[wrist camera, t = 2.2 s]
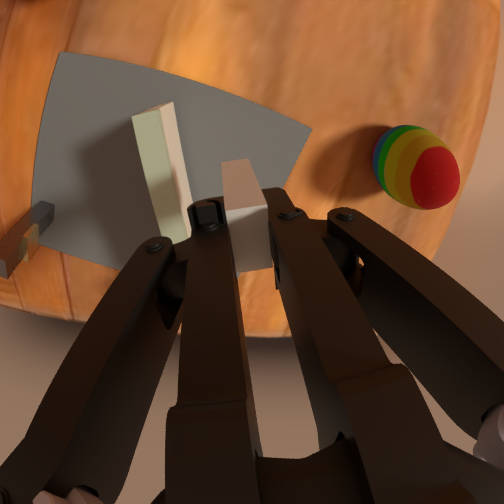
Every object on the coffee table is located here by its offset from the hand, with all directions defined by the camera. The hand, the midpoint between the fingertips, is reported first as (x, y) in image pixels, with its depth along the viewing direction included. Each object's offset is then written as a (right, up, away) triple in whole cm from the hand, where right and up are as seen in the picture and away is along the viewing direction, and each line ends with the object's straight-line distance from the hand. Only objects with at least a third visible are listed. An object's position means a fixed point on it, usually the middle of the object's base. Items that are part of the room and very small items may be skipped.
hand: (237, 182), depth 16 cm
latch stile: (-22, +1, +10) cm, 24 cm away
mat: (-10, +3, +10) cm, 15 cm away
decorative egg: (+16, +7, +12) cm, 21 cm away
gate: (-6, +3, +10) cm, 12 cm away
